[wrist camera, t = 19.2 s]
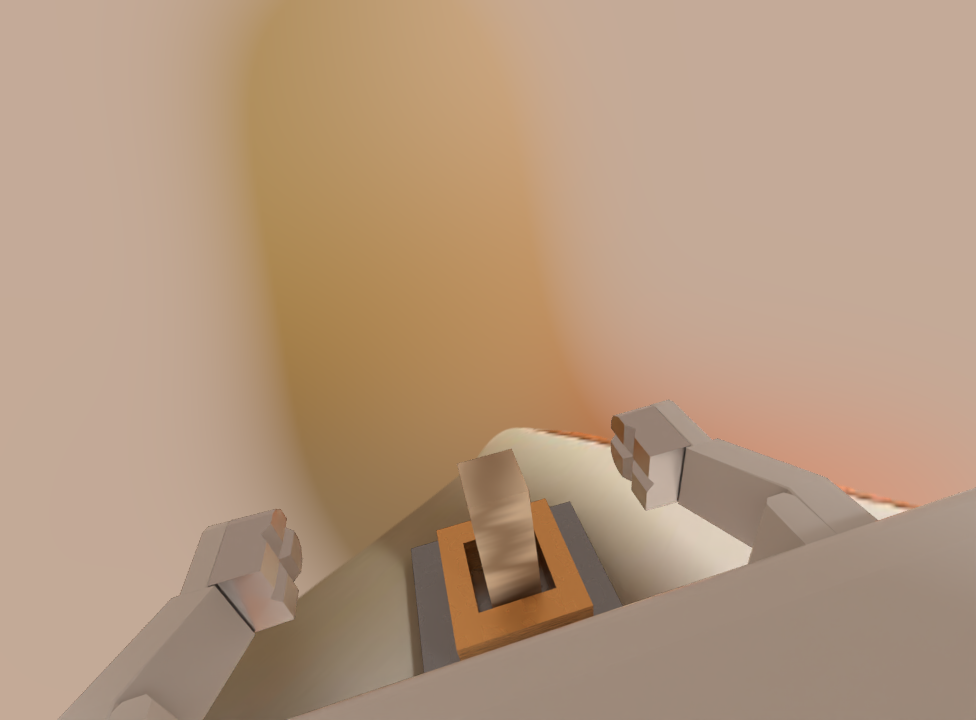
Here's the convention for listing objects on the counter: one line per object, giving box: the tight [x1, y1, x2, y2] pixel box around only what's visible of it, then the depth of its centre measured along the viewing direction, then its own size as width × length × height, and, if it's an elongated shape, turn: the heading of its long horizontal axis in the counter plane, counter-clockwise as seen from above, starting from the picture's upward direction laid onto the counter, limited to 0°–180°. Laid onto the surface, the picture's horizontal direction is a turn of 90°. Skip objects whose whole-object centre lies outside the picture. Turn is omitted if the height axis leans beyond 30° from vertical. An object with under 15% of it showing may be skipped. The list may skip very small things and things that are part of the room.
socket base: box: [411, 499, 622, 673], centre depth 37 cm, size 16×14×6 cm
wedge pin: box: [457, 449, 542, 608], centre depth 34 cm, size 4×4×14 cm
